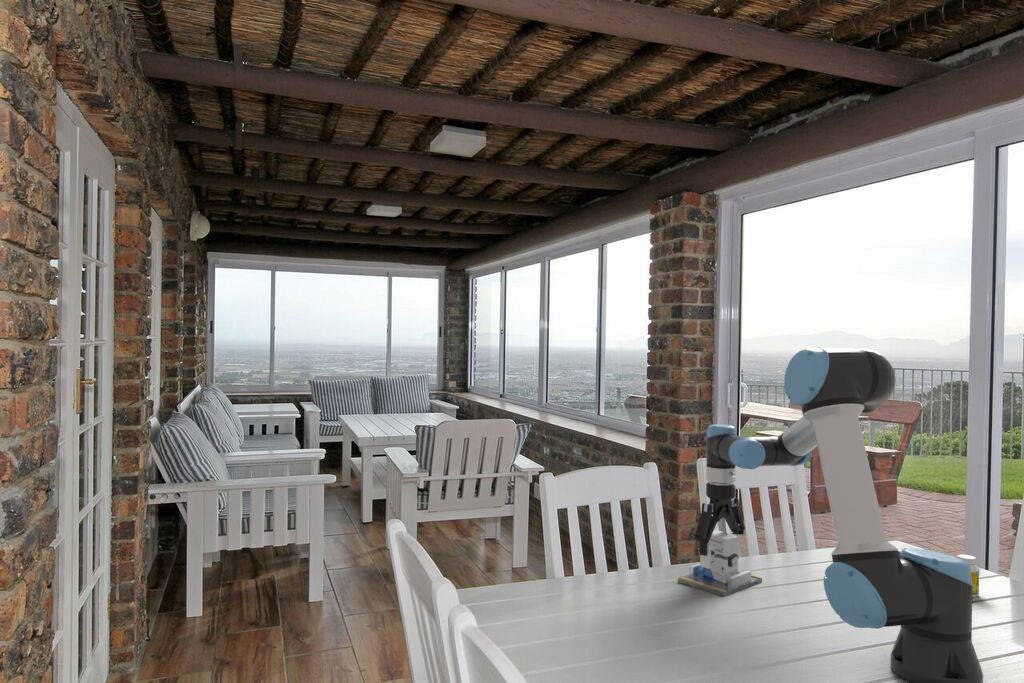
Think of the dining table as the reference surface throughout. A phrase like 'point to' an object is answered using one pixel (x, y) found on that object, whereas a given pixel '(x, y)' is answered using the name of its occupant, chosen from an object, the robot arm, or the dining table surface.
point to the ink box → (723, 556)
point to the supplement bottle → (972, 572)
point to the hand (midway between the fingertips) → (720, 562)
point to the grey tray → (717, 587)
